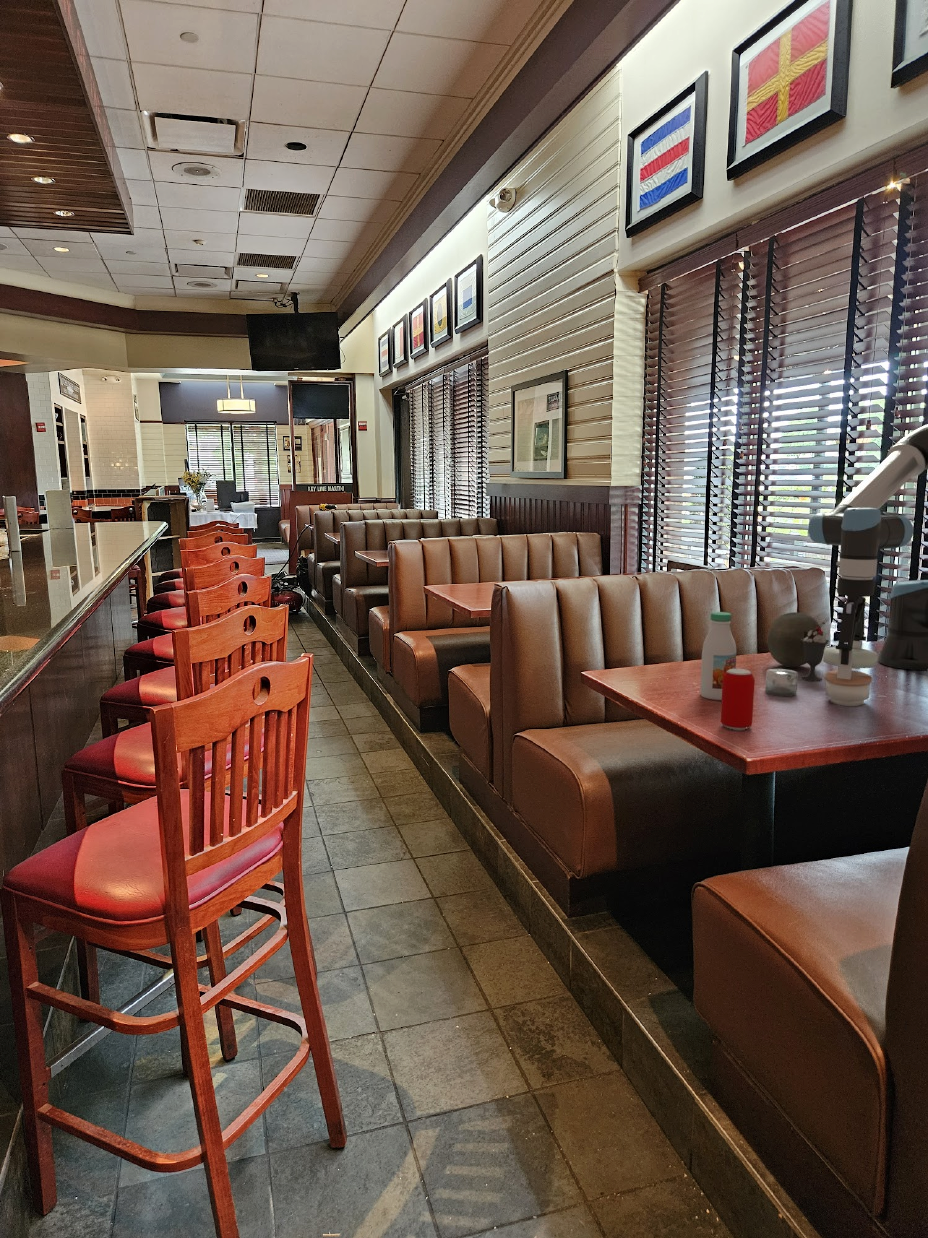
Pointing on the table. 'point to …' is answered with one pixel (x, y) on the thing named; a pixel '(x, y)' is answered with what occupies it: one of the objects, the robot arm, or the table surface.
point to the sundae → (813, 650)
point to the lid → (860, 657)
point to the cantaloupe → (790, 638)
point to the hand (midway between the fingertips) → (848, 673)
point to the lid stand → (781, 682)
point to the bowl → (848, 688)
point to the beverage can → (737, 699)
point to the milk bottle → (717, 656)
